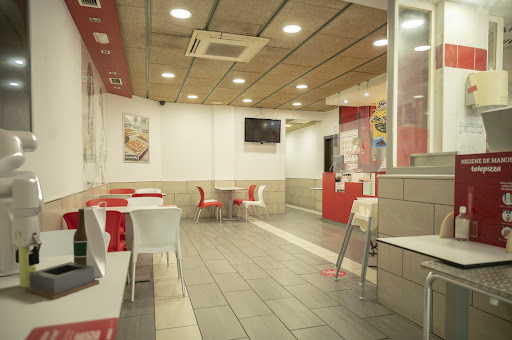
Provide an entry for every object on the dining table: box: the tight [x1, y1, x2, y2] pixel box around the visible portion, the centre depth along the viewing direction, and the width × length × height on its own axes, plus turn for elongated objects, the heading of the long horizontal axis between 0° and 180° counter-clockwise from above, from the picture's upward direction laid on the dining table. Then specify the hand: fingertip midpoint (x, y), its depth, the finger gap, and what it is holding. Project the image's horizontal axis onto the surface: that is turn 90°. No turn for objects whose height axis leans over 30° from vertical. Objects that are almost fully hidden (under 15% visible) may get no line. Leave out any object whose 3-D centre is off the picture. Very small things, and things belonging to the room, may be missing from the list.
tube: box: [18, 232, 38, 288], centre depth 116 cm, size 6×5×20 cm
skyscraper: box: [84, 200, 108, 279], centre depth 126 cm, size 8×8×28 cm
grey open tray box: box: [24, 261, 100, 301], centre depth 113 cm, size 16×16×6 cm
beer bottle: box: [72, 207, 88, 265], centre depth 139 cm, size 8×8×24 cm
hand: (27, 262), depth 116 cm, fingers open, 7 cm apart
